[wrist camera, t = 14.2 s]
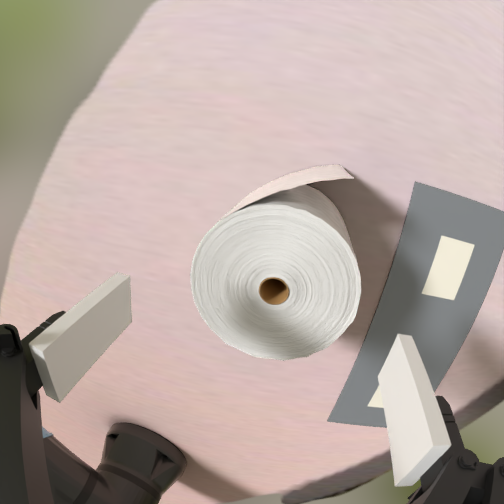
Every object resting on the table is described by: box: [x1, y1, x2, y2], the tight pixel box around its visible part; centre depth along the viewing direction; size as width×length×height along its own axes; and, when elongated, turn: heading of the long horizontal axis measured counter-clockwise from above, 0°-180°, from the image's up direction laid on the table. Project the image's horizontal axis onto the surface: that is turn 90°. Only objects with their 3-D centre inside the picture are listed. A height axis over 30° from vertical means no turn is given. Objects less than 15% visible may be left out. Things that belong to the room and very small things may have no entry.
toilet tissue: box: [190, 165, 361, 361], centre depth 23 cm, size 11×12×10 cm
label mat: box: [327, 182, 504, 428], centre depth 29 cm, size 30×12×1 cm, turn 171°
